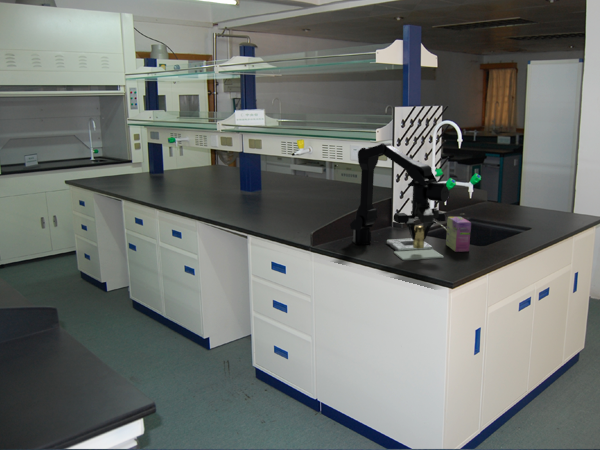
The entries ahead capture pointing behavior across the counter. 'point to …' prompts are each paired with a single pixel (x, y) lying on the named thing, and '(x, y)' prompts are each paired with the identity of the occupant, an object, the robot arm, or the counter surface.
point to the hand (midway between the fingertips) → (418, 239)
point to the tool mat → (418, 254)
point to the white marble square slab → (405, 245)
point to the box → (458, 234)
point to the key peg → (419, 237)
